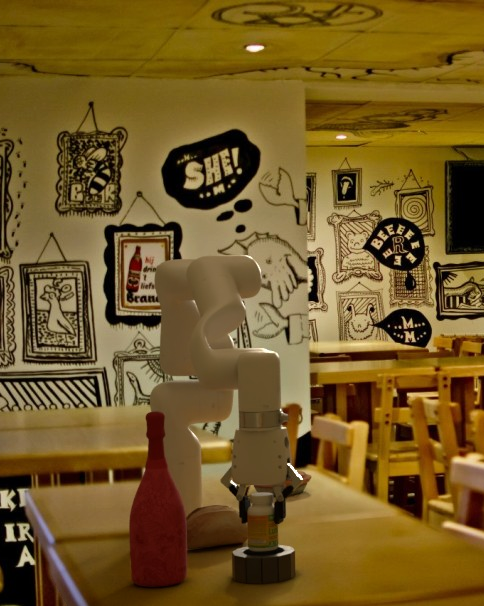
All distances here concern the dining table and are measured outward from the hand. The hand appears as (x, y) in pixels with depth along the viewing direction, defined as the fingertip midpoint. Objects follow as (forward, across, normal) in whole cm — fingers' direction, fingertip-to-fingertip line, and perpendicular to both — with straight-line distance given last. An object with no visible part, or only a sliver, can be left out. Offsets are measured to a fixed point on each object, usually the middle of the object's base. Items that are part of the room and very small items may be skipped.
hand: (262, 521), depth 220 cm
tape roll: (+10, 0, 0) cm, 10 cm away
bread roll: (+10, +18, -23) cm, 31 cm away
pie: (+10, +24, -85) cm, 89 cm away
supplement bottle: (+5, 0, 0) cm, 5 cm away
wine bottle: (+10, +17, +6) cm, 21 cm away
